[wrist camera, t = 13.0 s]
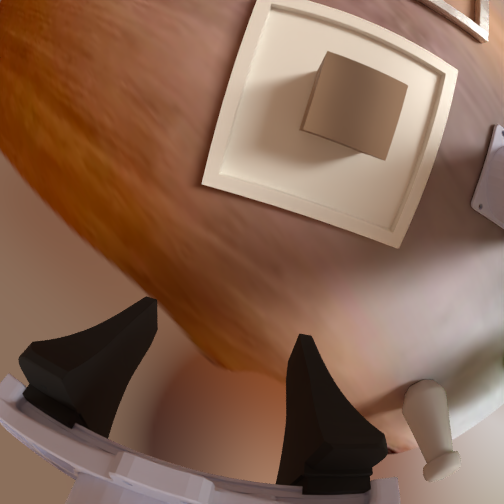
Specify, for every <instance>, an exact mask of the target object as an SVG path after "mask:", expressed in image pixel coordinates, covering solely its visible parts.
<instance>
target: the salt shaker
mask: <svg viewBox="0 0 504 504" xmlns="http://www.w3.org/2000/svg"><path fill="white" fill-rule="evenodd" d="M402 413H403V415H404V417H405V419H406V421H407V423H408V425H409V427H410V429H411V431H412V433H413V435H414V437H415V439H416V441H417V443H418V445H419V448H420V450H421V452H422V454H423V456H424V458H425V460H426V462H427V464H426V465H425V466H424V468H423V476H424V478H425V480H426V481H429V482H435V481H439V480H442V479H444V478H446V477H448V476H450V475H452V474H453V473H455V472H456V471H457V470H458V469H459V468H460V466H461V458H460V455H459V453H458V451H453V448H452V438H451V429H450V420H449V412H448V404H447V397H446V393H445V390H444V389H443V387H442V386H440V385H439V384H438V383H437V382H435V381H434V380H424V379H423V380H421V381H419V382H417V383H416V384H414V385H412V386H410V387H409V389H408V391H407V393H406V394H405V397H404V403H403V408H402Z"/></svg>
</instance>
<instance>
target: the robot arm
mask: <svg viewBox="0 0 504 504" xmlns="http://www.w3.org/2000/svg"><path fill="white" fill-rule="evenodd" d="M501 133H502V134H501ZM479 205H480V208H479ZM471 207H472V208H473V209H474V210H476V211H477V212H479V213H480V214H482V215H484V216H485V217H487V218H488V219H490V220H491V221H493V222H494V223H495V224H497V225H498V226H500V227H501V228H503V229H504V128H503V127H502V126H501V125H498V124H496V125H495V126H494V130H493V134H492V138H491V142H490V146H489V149H488V153H487V156H486V160H485V163H484V166H483V170H482V173H481V176H480V179H479V182H478V185H477V187H476V190H475V193H474V196H473V198H472V201H471ZM157 329H158V328H157V299H153V298H150V297H145V298H143V299H141V300H140V301H138V302H137V303H135V304H133V305H132V306H130V307H129V308H127V309H125V310H124V311H122V312H121V313H119V314H117V315H115V316H114V317H112V318H110V319H108V320H106V321H104V322H103V323H100V324H98V325H96V326H94V327H92V328H89V329H87V330H84V331H81V332H78V333H75V334H72V335H69V336H65V337H61V338H57V339H51V340H45V341H36V342H32V343H31V344H30V345H29V346H28V348H27V349H26V350H25V351H24V352H23V353H22V354H21V355H20V357H19V365H20V367H21V369H22V371H23V373H24V375H25V376H26V378H27V380H28V382H29V385H28V387H27V388H26V386H25V385H24V384H23V383H21V382H20V381H19V380H17V379H16V378H15V377H13V376H12V375H11V374H7V376H6V377H5V378H4V379H3V380H2V382H1V383H0V423H1V424H2V426H3V427H4V428H5V429H6V430H7V431H8V432H10V433H11V434H12V435H13V436H14V437H16V438H17V439H18V440H19V441H21V442H22V443H23V444H24V445H26V446H27V447H28V448H30V449H31V450H32V451H33V452H35V453H36V454H38V455H39V456H40V457H41V458H43V459H44V460H46V461H47V462H48V463H50V464H52V465H53V466H54V467H56V468H57V469H59V470H61V471H62V472H64V473H65V474H67V475H68V476H70V477H71V478H73V479H75V480H76V481H75V483H74V485H73V487H72V490H71V492H70V494H69V496H68V498H67V500H66V502H65V504H401V502H400V494H399V487H398V478H397V477H392V478H384V479H376V480H372V481H370V476H371V475H372V474H373V472H372V467H373V466H375V465H376V464H378V463H379V462H380V461H381V460H383V459H384V458H385V457H386V456H387V454H388V449H387V443H386V439H385V435H384V434H383V433H382V432H381V431H379V430H378V429H377V428H376V427H374V426H373V425H372V424H370V423H369V422H368V421H367V420H366V419H365V418H364V417H363V416H362V415H361V414H360V413H359V412H358V411H357V410H356V409H355V408H354V407H353V406H352V405H351V403H350V402H349V401H348V400H347V399H346V397H345V396H344V395H343V393H342V392H341V391H340V389H339V388H338V386H337V385H336V383H335V382H334V380H333V378H332V377H331V375H330V373H329V371H328V370H327V368H326V366H325V364H324V362H323V360H322V358H321V356H320V354H319V351H318V349H317V347H316V345H315V342H314V340H313V338H312V336H310V335H304V334H299V336H298V338H297V341H296V343H295V346H294V348H293V351H292V353H291V356H290V358H289V361H288V367H287V376H286V427H285V435H284V442H283V449H282V455H281V460H280V466H279V471H278V476H277V481H276V484H267V483H259V482H251V481H245V480H239V479H234V478H228V477H223V476H218V475H213V474H209V473H205V472H201V471H197V470H193V469H189V468H186V467H182V466H179V465H176V464H172V463H169V462H166V461H163V460H160V459H157V458H154V457H151V456H148V455H146V454H143V453H140V452H138V451H135V450H132V449H130V448H127V447H125V446H122V445H120V444H118V443H116V442H114V441H111V440H109V439H108V437H109V433H110V430H111V427H112V424H113V420H114V418H115V415H116V412H117V409H118V406H119V404H120V401H121V399H122V396H123V394H124V392H125V389H126V387H127V385H128V383H129V381H130V379H131V377H132V375H133V374H134V372H135V370H136V369H137V367H138V365H139V364H140V362H141V360H142V359H143V357H144V355H145V354H146V352H147V350H148V349H149V347H150V345H151V343H152V341H153V339H154V337H155V334H156V332H157Z"/></svg>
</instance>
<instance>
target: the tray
mask: <svg viewBox="0 0 504 504" xmlns="http://www.w3.org/2000/svg"><path fill="white" fill-rule="evenodd" d="M327 51H330V52H332V53H335V54H338V55H341V56H344V57H346V58H349V59H351V60H354V61H357V62H359V63H361V64H364V65H366V66H369V67H371V68H373V69H375V70H378V71H380V72H382V73H384V74H386V75H389V76H391V77H393V78H395V79H397V80H399V81H401V82H403V83H405V84H407V85H408V88H407V92H406V96H405V99H404V103H403V107H402V110H401V113H400V117H399V120H398V124H397V127H396V130H395V133H394V136H393V139H392V143H391V146H390V149H389V152H388V155H387V157H386V160H385V161H384V160H381V159H378V158H375V157H372V156H370V155H367V154H364V153H361V152H358V151H356V150H353V149H351V148H348V147H346V146H343V145H340V144H338V143H335V142H332V141H330V140H327V139H324V138H321V137H318V136H315V135H312V134H309V133H306V132H303V131H300V130H299V129H300V125H301V122H302V119H303V116H304V113H305V109H306V106H307V103H308V100H309V96H310V93H311V90H312V87H313V83H314V80H315V77H316V74H317V70H318V68H319V66H320V65H321V63H322V61H323V59H324V57H325V55H326V53H327ZM457 74H458V70H457V69H455V68H454V67H452V66H451V65H449V64H448V63H446V62H445V61H443V60H442V59H440V58H439V57H437V56H435V55H434V54H432V53H431V52H429V51H427V50H425V49H424V48H422V47H420V46H418V45H417V44H415V43H413V42H411V41H409V40H407V39H405V38H404V37H402V36H400V35H398V34H396V33H394V32H391V31H389V30H387V29H385V28H383V27H381V26H378V25H376V24H374V23H372V22H369V21H367V20H364V19H362V18H359V17H357V16H354V15H351V14H349V13H346V12H343V11H340V10H337V9H334V8H331V7H328V6H325V5H322V4H318V3H315V2H311V1H307V0H257V1H256V4H255V6H254V9H253V12H252V15H251V17H250V20H249V23H248V26H247V28H246V31H245V34H244V37H243V40H242V43H241V46H240V49H239V52H238V55H237V58H236V61H235V64H234V67H233V70H232V73H231V77H230V80H229V83H228V86H227V90H226V93H225V96H224V100H223V103H222V107H221V110H220V114H219V117H218V121H217V125H216V128H215V132H214V136H213V140H212V144H211V147H210V151H209V155H208V159H207V163H206V167H205V172H204V176H203V180H202V185H206V186H210V187H213V188H217V189H220V190H224V191H227V192H231V193H234V194H237V195H241V196H244V197H248V198H251V199H254V200H257V201H261V202H264V203H267V204H270V205H274V206H277V207H280V208H283V209H286V210H289V211H292V212H295V213H299V214H302V215H305V216H308V217H311V218H314V219H317V220H319V221H322V222H325V223H328V224H331V225H334V226H337V227H340V228H343V229H345V230H348V231H351V232H354V233H357V234H359V235H362V236H365V237H368V238H370V239H373V240H376V241H378V242H381V243H384V244H386V245H389V246H392V247H394V248H397V249H399V247H400V245H401V243H402V241H403V238H404V236H405V234H406V232H407V230H408V227H409V225H410V223H411V221H412V218H413V216H414V214H415V211H416V209H417V206H418V204H419V201H420V199H421V196H422V194H423V191H424V189H425V186H426V183H427V181H428V178H429V175H430V172H431V170H432V167H433V164H434V161H435V158H436V155H437V152H438V149H439V146H440V142H441V139H442V136H443V132H444V129H445V125H446V122H447V118H448V114H449V110H450V106H451V102H452V98H453V93H454V89H455V84H456V79H457Z"/></svg>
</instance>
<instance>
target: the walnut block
mask: <svg viewBox="0 0 504 504" xmlns="http://www.w3.org/2000/svg"><path fill="white" fill-rule="evenodd" d="M407 88H408V85H407V84H405V83H403V82H401V81H399V80H397V79H395V78H393V77H391V76H389V75H386V74H384V73H382V72H380V71H378V70H375V69H373V68H371V67H369V66H366V65H364V64H361V63H359V62H357V61H354V60H351V59H349V58H346V57H344V56H341V55H338V54H335V53H332V52H330V51H327V53H326V55H325V57H324V59H323V61H322V63H321V65H320V66H319V68H318V70H317V74H316V77H315V80H314V83H313V87H312V90H311V93H310V96H309V100H308V103H307V106H306V109H305V113H304V116H303V119H302V122H301V125H300V129H299V130H300V131H303V132H306V133H309V134H312V135H315V136H318V137H321V138H324V139H327V140H330V141H332V142H335V143H338V144H340V145H343V146H346V147H348V148H351V149H353V150H356V151H358V152H361V153H364V154H367V155H370V156H372V157H375V158H378V159H381V160H384V161H385V160H386V157H387V155H388V152H389V149H390V146H391V143H392V139H393V136H394V133H395V130H396V127H397V124H398V120H399V117H400V113H401V110H402V107H403V103H404V99H405V96H406V92H407Z"/></svg>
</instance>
